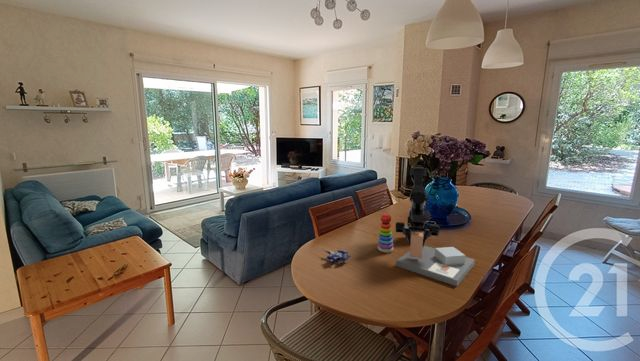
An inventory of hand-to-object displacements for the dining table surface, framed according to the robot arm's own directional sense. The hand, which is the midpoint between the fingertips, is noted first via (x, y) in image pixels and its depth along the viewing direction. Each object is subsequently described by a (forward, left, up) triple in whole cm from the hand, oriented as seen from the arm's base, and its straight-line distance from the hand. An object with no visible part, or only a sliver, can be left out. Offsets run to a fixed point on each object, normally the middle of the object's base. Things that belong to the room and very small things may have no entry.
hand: (416, 246), depth 132 cm
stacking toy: (-19, +7, -10) cm, 22 cm away
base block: (+11, +11, -7) cm, 17 cm away
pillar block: (-1, +1, -5) cm, 5 cm away
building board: (+6, +7, -9) cm, 13 cm away
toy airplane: (-31, -18, -10) cm, 37 cm away
